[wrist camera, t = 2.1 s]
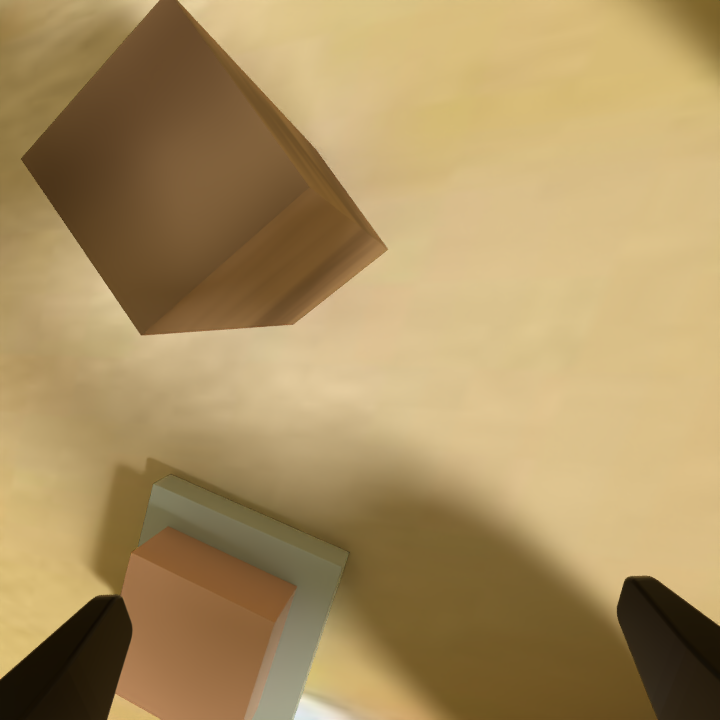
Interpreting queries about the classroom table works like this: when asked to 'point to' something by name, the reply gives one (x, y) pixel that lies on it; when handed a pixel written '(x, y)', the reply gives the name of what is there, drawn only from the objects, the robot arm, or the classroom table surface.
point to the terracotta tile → (199, 630)
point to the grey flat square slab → (271, 554)
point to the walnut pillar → (197, 188)
